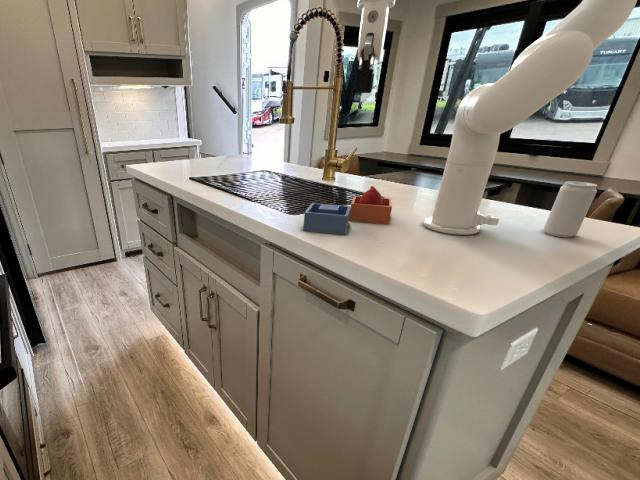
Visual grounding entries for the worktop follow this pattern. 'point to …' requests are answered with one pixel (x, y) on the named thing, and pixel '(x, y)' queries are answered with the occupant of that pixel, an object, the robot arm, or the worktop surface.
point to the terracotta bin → (370, 211)
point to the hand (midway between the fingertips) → (363, 92)
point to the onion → (371, 197)
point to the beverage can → (570, 208)
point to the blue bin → (326, 220)
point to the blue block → (328, 209)
